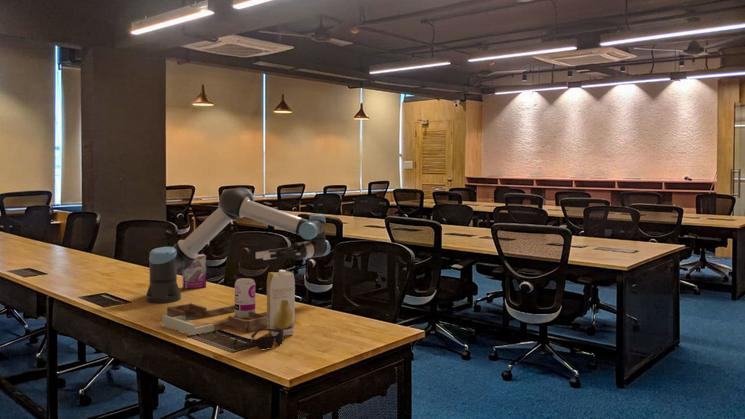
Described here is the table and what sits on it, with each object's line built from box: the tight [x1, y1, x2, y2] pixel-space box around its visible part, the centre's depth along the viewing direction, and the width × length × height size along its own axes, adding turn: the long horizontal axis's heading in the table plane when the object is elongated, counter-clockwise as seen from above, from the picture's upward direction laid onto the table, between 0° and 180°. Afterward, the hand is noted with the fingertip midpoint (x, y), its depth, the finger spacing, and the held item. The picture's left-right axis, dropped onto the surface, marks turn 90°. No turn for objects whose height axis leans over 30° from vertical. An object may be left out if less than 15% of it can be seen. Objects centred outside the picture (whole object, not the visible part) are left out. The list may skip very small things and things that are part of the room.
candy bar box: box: [181, 254, 207, 290], centre depth 304 cm, size 11×5×16 cm, turn 115°
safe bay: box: [161, 314, 215, 336], centre depth 229 cm, size 9×20×4 cm, turn 49°
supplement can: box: [234, 277, 256, 319], centre depth 248 cm, size 8×8×15 cm
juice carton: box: [266, 269, 296, 337], centre depth 222 cm, size 9×8×24 cm
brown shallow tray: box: [166, 302, 267, 333], centre depth 242 cm, size 27×41×4 cm, turn 49°
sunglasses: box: [234, 328, 284, 350], centre depth 211 cm, size 14×16×5 cm
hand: (259, 256), depth 253 cm, fingers open, 4 cm apart
